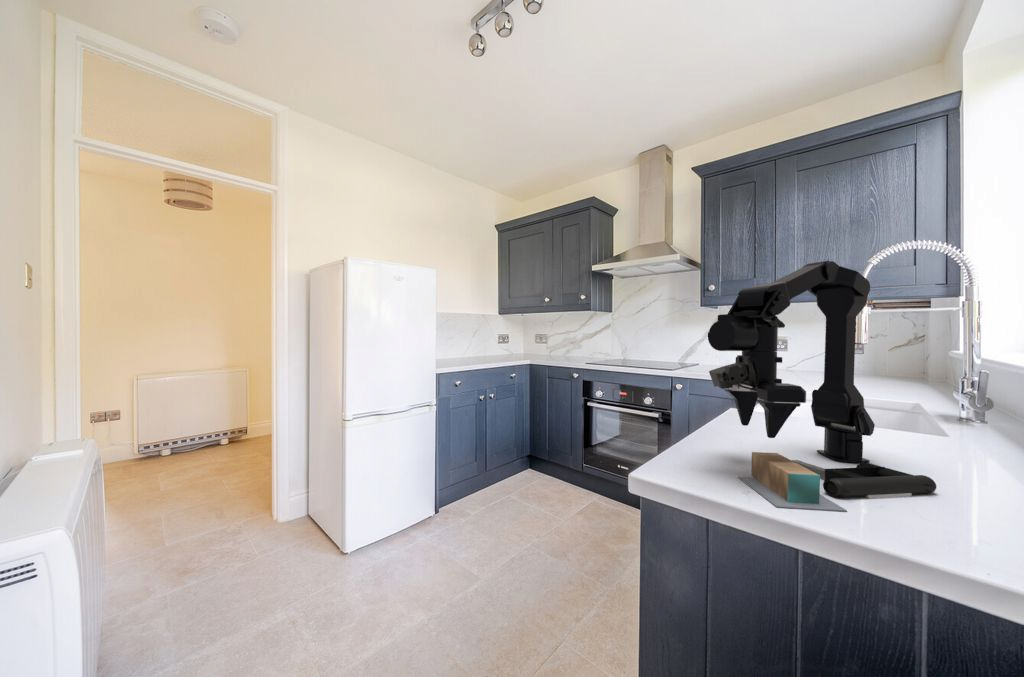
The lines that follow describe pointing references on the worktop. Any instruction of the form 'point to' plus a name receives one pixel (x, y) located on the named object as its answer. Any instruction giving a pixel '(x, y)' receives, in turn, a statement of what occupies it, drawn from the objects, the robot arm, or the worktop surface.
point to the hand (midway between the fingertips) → (757, 431)
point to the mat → (782, 503)
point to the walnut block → (786, 478)
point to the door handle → (870, 481)
